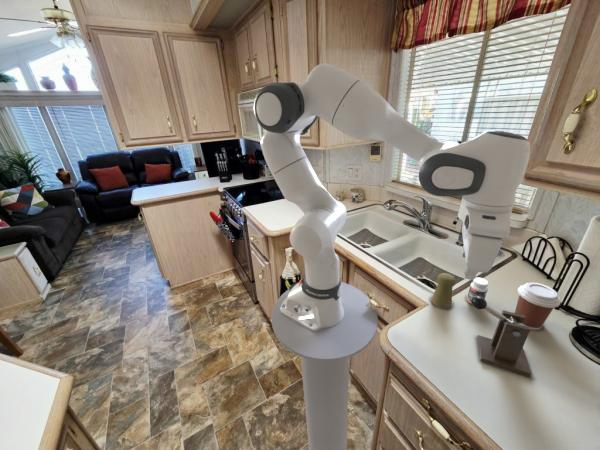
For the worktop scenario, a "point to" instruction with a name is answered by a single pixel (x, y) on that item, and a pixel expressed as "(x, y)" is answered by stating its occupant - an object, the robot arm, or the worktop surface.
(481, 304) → the lever
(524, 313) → the coffee cup
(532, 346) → the worktop surface
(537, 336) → the worktop surface
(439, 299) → the olive tapered figurine
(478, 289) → the pill bottle
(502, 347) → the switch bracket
